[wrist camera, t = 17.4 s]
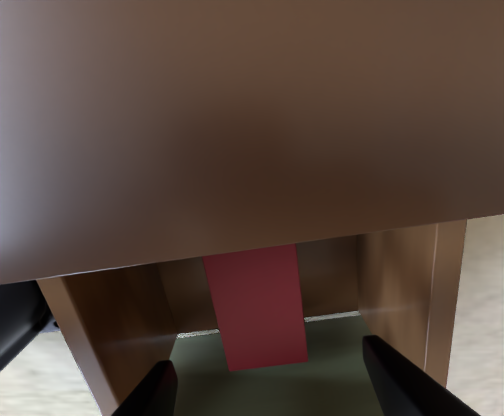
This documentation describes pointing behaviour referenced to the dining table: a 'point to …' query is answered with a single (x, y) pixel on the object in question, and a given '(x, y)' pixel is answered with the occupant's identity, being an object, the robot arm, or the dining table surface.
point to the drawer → (317, 332)
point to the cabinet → (240, 125)
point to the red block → (258, 306)
